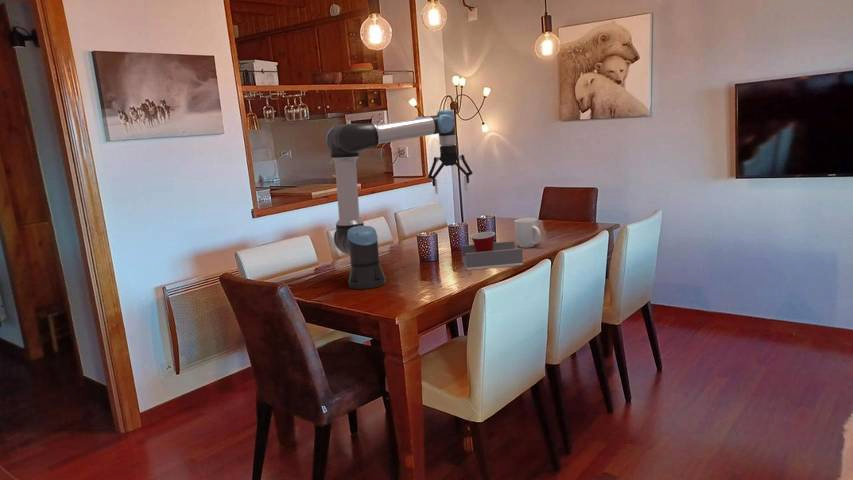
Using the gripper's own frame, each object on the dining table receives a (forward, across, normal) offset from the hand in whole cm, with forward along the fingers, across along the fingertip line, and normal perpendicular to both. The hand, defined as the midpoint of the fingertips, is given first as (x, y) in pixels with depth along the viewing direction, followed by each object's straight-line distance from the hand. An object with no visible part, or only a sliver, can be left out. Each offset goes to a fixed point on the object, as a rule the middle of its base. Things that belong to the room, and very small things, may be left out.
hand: (451, 192), depth 269 cm
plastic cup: (+30, -11, +16) cm, 36 cm away
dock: (+31, -14, +17) cm, 38 cm away
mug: (+31, -36, -8) cm, 48 cm away
